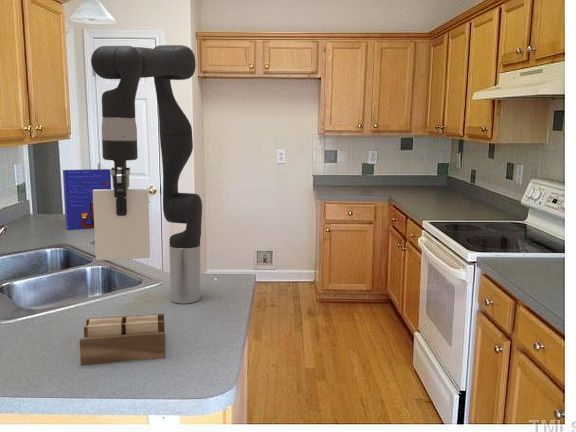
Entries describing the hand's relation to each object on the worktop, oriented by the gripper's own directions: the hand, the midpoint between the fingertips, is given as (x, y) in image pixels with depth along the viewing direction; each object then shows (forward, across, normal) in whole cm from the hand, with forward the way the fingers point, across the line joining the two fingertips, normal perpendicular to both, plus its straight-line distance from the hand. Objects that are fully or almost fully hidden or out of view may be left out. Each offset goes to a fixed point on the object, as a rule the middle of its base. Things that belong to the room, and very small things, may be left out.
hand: (122, 214), depth 117 cm
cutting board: (+10, 0, 0) cm, 10 cm away
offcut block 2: (+32, -6, -4) cm, 32 cm away
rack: (+33, -4, 0) cm, 33 cm away
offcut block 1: (+32, -6, +4) cm, 32 cm away
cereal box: (+33, +153, +26) cm, 159 cm away
